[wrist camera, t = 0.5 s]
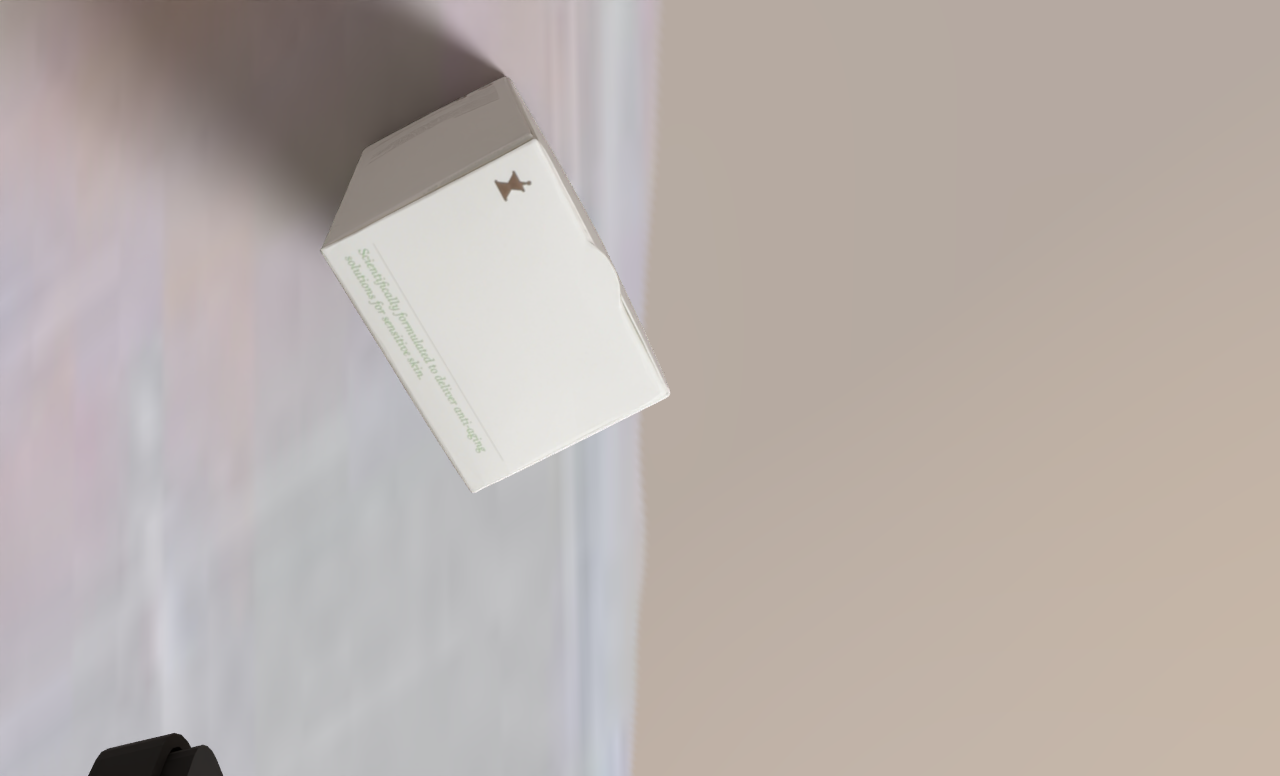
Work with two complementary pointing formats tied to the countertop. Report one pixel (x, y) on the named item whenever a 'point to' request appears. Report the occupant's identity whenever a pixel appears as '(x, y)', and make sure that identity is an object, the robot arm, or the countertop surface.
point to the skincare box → (490, 287)
